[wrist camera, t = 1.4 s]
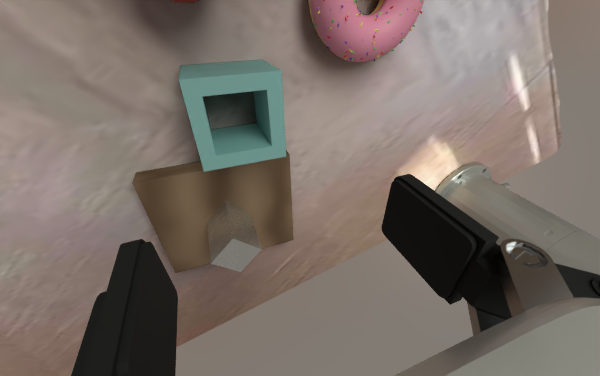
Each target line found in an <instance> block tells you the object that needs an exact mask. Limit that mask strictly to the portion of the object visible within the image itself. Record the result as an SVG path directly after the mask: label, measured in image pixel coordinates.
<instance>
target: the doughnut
mask: <svg viewBox="0 0 600 376" xmlns="http://www.w3.org/2000/svg"><path fill="white" fill-rule="evenodd" d="M423 2H424V0H379V3H378V5H377V7H376V8H375V10H374V11H373V12H372V13H371V14H370V15H364V14H362V13H360V11H358V8H357V7H356V6H357V5H356V0H308V3H309V10H310V15H311V19H312V22H313V25H314V27H315V30H316V32H317V34H318V35H319V37H320V39H321V40H322V42H323V43H324V44H325V45H326V46H327V48H329V50H330V51H331V52H332V53H334V54H335V55H336V56H338V57H340V58H342V59H344V60H346V61H350V62H366V61H371V60H374V61H375V59H377V58H379V57H381V56H383V55H385V54H386V53H388V52H390V51H394V50H392V49H394V48H395V47H396V46H397V45H398V44H399V43H401V41H403V39H404V38H405V36H406V35H407V34H408V32H409V31H410V30H412V29H411V28H412V26H415V25H414V23H415V21H416V19H417V17H418V15H419V13H421V14H422V12H421V11H420V10H421V8H422V5H423Z"/></svg>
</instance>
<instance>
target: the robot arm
mask: <svg viewBox="0 0 600 376" xmlns="http://www.w3.org/2000/svg"><path fill="white" fill-rule="evenodd" d="M510 189H511V185H510V184H509V183H504V184H499V183H497V182H495V181H493V180H491V171H490V169H489V168H488V167H487V166H485V165H483V164H480V163H471V164H468V165H465V166H463V167H461V168H459V169H457V170H456V171H454V172H453V173H452V174H450V175H449V176H448V177H447V178H446V179H445V180H444V181H443V182H442V183H441V184H440V186H439V187H438V188H437V190H436V191H434V190H432V189H431V188H429V187H428V186H427V185H425V184H424V183H422V182H421V181H420V180H418V179H417V178H415V177H414V176H413V175H411V174H407V175H402V176H398V177H396V178H395V179H394V181H393V182H392V184H391V188H390V193H389V197H388V201H387V206H386V210H385V215H384V219H383V224H382V232H383V234H384V235H385V236H386V237H387V239H388V240H389V241H390V242H391V243H392V244H393V245H394V246H395V247H396V249H397V250H398V251H399V252H400V253H401V254H402V255H403V256H404V257H405V259H407V261H408V262H409V263H410V264H411V265H412V266H413V268H414V269H415V270H416V271H417V272H418V273H419V274H420V275H421V277H422V278H423V279H424V280H425V281H426V282H427V283H428V284H429V285H430V287H431V288H432V289H433V290H434V291H435V292H436V293H437V294H438V295H439V296H440V297H442V298H444V299H445V300H446V301H447V302H448V303H449V304H452V303H455V302H457V301H459V300H461V299H462V297H464V299H465V300H466V301H467V304H468V309H469V315H470V320H471V324H472V330H473V336H472V337H470V338H468V339H466V340H465V341H462V342H460V343H458V344H456V345H454V346H452V347H450V348H448V349H446V350H444V351H442V352H440V353H438V354H436V355H434V356H432V357H430V358H428V359H426V360H424V361H422V362H420V363H418V364H416V365H414V366H412V367H410V368H408V369H406V370H404V371H402V372H400V373H398V374H396V375H394V376H600V239H599V238H597V237H595V236H593V235H592V234H590V233H588V232H586V231H584V230H582V229H580V228H579V227H577V226H575V225H573V224H571V223H569V222H567V221H566V220H564V219H562V218H560V217H558V216H556V215H555V214H553V213H551V212H549V211H547V210H545V209H544V208H542V207H540V206H538V205H536V204H534V203H533V202H530V201H529V200H527V199H525V198H523V197H521V196H520V195H518V194H516V193H514V192H512V191H510ZM177 307H178V297H177V291H176V289H175V287H174V285H173V283H172V281H171V279H170V277H169V275H168V273H167V271H166V269H165V268H164V266H163V264H162V262H161V260H160V258H159V256H158V254H157V252H156V250H155V248H154V246H153V244H152V243H151V242H146V243H145V241H144V240H143V239H140V240H135V241H131V242H127V243H123V244H121V245H120V247H119V251H118V254H117V258H116V261H115V265H114V268H113V271H112V275H111V278H110V282H109V285H108V289H107V291H106V292H103V293H100V294H99V296H98V297H97V299H96V301H95V303H94V306H93V309H92V313H91V316H90V319H89V322H88V325H87V328H86V331H85V334H84V337H83V341H82V344H81V347H80V350H79V353H78V356H77V359H76V362H75V365H74V369H73V372H72V375H71V376H175V366H176V337H177Z"/></svg>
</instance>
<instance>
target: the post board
mask: <svg viewBox="0 0 600 376" xmlns="http://www.w3.org/2000/svg"><path fill="white" fill-rule="evenodd" d="M133 185H134V187H135V190H136V192H137V194H138V196H139V198H140V200H141V202H142V204H143V206H144V208H145V210H146V212H147V215H148V217H149V219H150V221H151V223H152V225H153V227H154V229H155V231H156V233H157V235H158V237H159V240H160V242H161V244H162V246H163V248H164V250H165V252H166V254H167V256H168V258H169V260H170V262H171V265H172V267H173V269H174V271H175V273H178V272H181V271H185V270H188V269H192V268H195V267H199V266H203V265H206V264H210V263H211V264H213V265H217V266H221V267H224V268H228V269H231V270H235V271H238V272H242V271H243V269H244V268H245V267H246V266H247V265H248V264H249V263H250V262H251V261H252V260H253V258H254V257H255V256H256V255H257V254H258V253H259V252H260V251H261V250H262V249H263V248H266V247H270V246H273V245H277V244H281V243H284V242H288V241H291V240H293V220H292V199H291V179H290V158H289V153H288V152H287V151H286V157H281V158H276V159H270V160H265V161H260V162H254V163H249V164H243V165H238V166H232V167H227V168H222V169H216V170H211V171H205V172H204V170H203V167H202V163H201V161H200V162H195V163H189V164H183V165H177V166H172V167H166V168H160V169H154V170H149V171H143V172H137V173H136V174H135V177H134V180H133Z"/></svg>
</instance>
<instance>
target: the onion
mask: <svg viewBox="0 0 600 376" xmlns="http://www.w3.org/2000/svg"><path fill="white" fill-rule="evenodd" d="M172 1H174V2H188V3H194V2H196V1H199V0H172Z"/></svg>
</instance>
